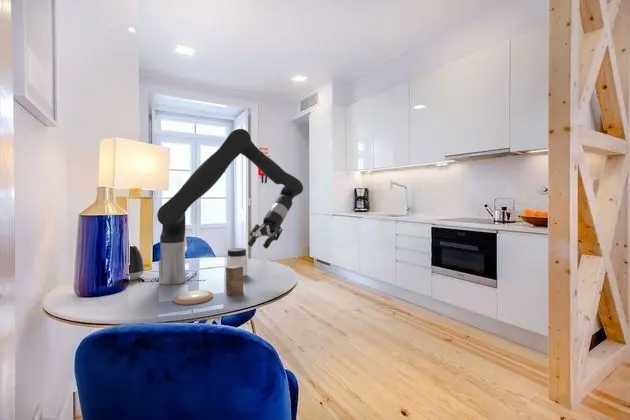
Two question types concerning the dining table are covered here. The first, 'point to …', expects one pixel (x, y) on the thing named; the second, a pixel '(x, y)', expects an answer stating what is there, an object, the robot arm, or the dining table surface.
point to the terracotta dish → (193, 297)
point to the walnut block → (234, 280)
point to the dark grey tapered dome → (135, 263)
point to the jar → (237, 258)
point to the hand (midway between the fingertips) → (257, 246)
